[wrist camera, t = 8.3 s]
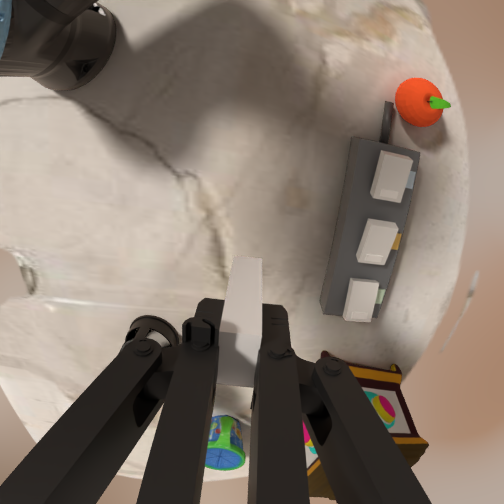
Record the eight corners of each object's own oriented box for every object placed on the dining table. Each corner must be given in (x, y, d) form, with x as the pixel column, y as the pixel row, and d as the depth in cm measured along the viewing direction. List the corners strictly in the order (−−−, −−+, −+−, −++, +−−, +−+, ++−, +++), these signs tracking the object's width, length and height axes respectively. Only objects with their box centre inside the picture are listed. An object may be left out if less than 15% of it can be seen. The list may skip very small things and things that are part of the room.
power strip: (357, 95, 39) (366, 93, 35) (414, 110, 39) (427, 110, 35) (319, 300, 52) (323, 315, 48) (370, 304, 52) (377, 318, 48)
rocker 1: (381, 150, 37) (385, 154, 35) (408, 156, 37) (413, 161, 35) (369, 192, 40) (373, 198, 39) (396, 197, 40) (400, 203, 39)
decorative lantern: (279, 409, 63) (282, 538, 35) (317, 341, 55) (346, 495, 28) (360, 420, 64) (385, 532, 37) (406, 359, 57) (460, 483, 29)
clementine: (433, 83, 37) (458, 80, 31) (435, 128, 40) (460, 131, 33) (386, 77, 38) (406, 72, 31) (388, 124, 40) (409, 126, 34)
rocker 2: (368, 218, 40) (371, 225, 39) (395, 222, 40) (399, 229, 39) (355, 255, 44) (358, 262, 42) (381, 258, 44) (384, 265, 42)
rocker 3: (350, 277, 45) (353, 281, 43) (375, 280, 45) (379, 283, 43) (342, 316, 46) (345, 321, 45) (367, 318, 46) (370, 322, 45)
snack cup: (208, 397, 62) (201, 436, 53) (257, 409, 63) (256, 447, 54) (194, 434, 68) (187, 468, 58) (236, 444, 69) (234, 478, 59)
